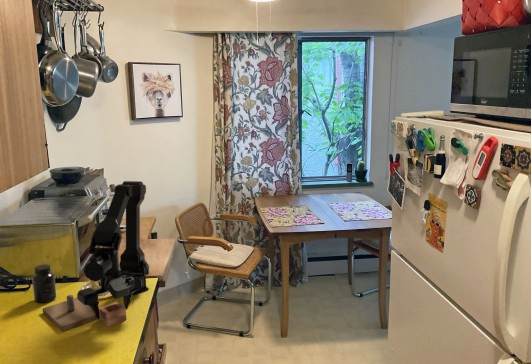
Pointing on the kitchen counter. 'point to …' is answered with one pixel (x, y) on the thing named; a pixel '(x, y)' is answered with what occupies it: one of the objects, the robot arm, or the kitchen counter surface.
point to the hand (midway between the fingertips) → (112, 314)
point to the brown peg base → (69, 313)
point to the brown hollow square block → (112, 313)
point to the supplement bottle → (44, 284)
